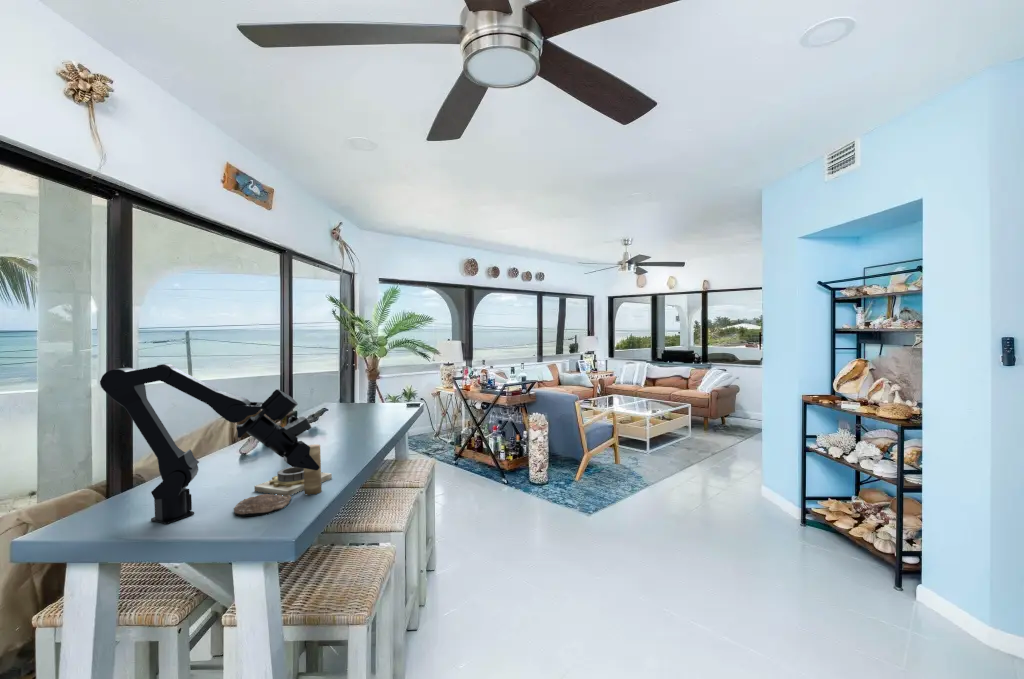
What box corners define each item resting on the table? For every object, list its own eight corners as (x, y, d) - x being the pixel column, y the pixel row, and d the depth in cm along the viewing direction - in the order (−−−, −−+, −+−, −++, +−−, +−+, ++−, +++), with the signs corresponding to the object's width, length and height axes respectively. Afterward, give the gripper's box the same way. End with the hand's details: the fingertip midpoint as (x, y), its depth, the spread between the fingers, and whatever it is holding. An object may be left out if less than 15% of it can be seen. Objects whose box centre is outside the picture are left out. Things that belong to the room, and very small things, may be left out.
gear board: (287, 496, 122) (287, 481, 122) (254, 491, 127) (254, 476, 127) (331, 478, 137) (331, 464, 136) (300, 474, 142) (300, 460, 141)
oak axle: (312, 495, 122) (311, 448, 122) (300, 493, 124) (299, 447, 123) (325, 490, 126) (323, 445, 126) (313, 488, 128) (312, 443, 128)
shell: (283, 514, 110) (283, 500, 110) (225, 522, 107) (225, 507, 107) (293, 498, 121) (292, 485, 121) (241, 504, 118) (240, 491, 118)
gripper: (299, 412, 114) (344, 447, 121) (282, 405, 128) (323, 436, 136) (266, 449, 109) (315, 482, 116) (252, 436, 124) (297, 467, 131)
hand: (313, 465), depth 125 cm, fingers open, 9 cm apart
